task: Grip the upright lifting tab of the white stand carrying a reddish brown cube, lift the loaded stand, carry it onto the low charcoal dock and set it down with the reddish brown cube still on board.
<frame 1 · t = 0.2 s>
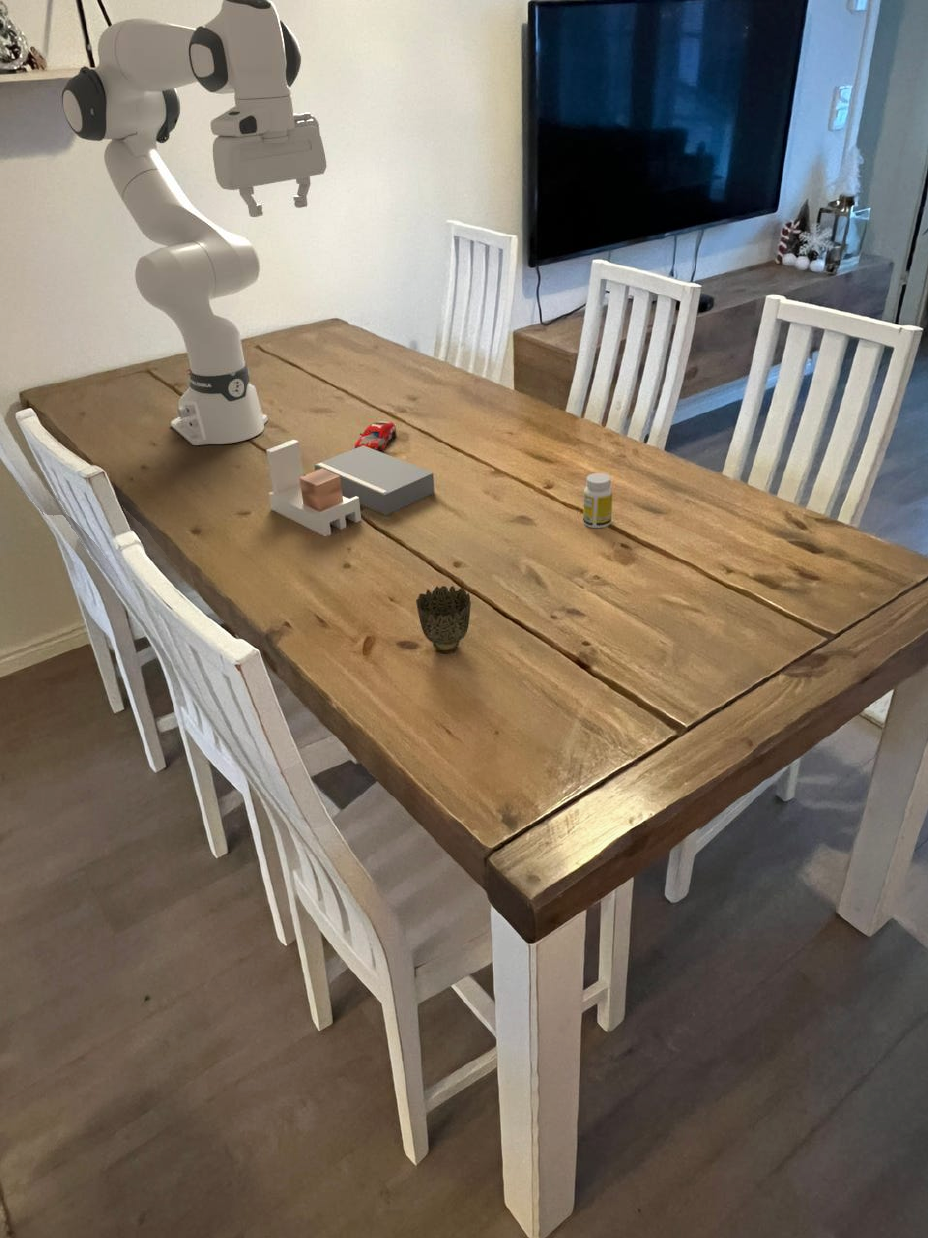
hand: (279, 211, 152), 47 cm above the table, tool pointing down, fingers open, 8 cm apart
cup: (446, 648, 127), on the table
white stand: (315, 515, 162), on the table, touching reddish brown cube
supplement bottle: (596, 523, 156), on the table
race car: (376, 446, 188), on the table
reddish brown cube: (323, 502, 159), point 3 cm above the table, touching white stand
dock: (375, 488, 170), on the table
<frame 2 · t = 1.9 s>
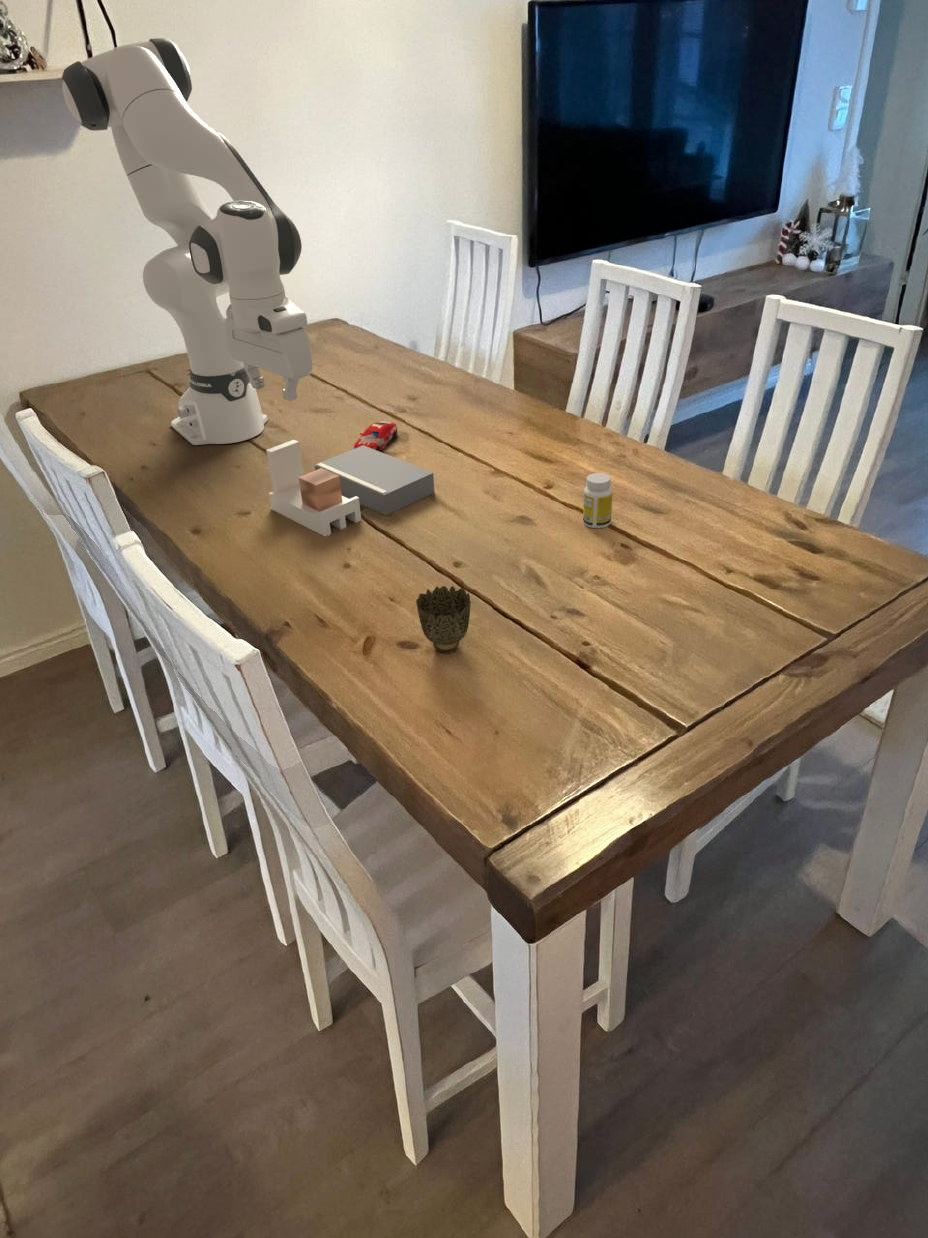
hand: (274, 393, 155), 21 cm above the table, tool pointing down, fingers open, 8 cm apart
nothing on the table moved.
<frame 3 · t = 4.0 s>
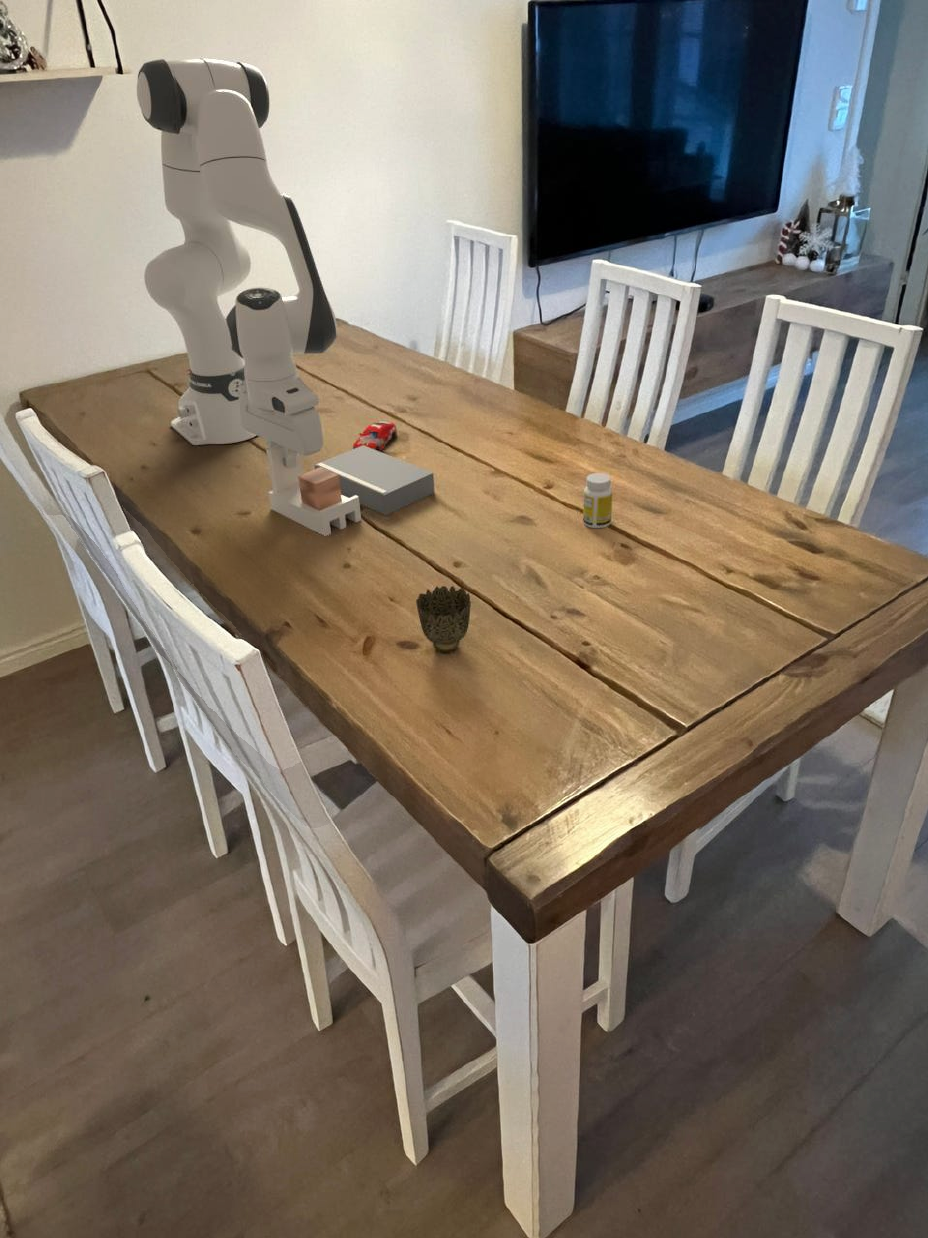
hand: (285, 464, 162), 8 cm above the table, tool pointing down, fingers closed on white stand, 2 cm apart
white stand: (315, 514, 162), on the table, touching reddish brown cube, gripper
everything else where it was.
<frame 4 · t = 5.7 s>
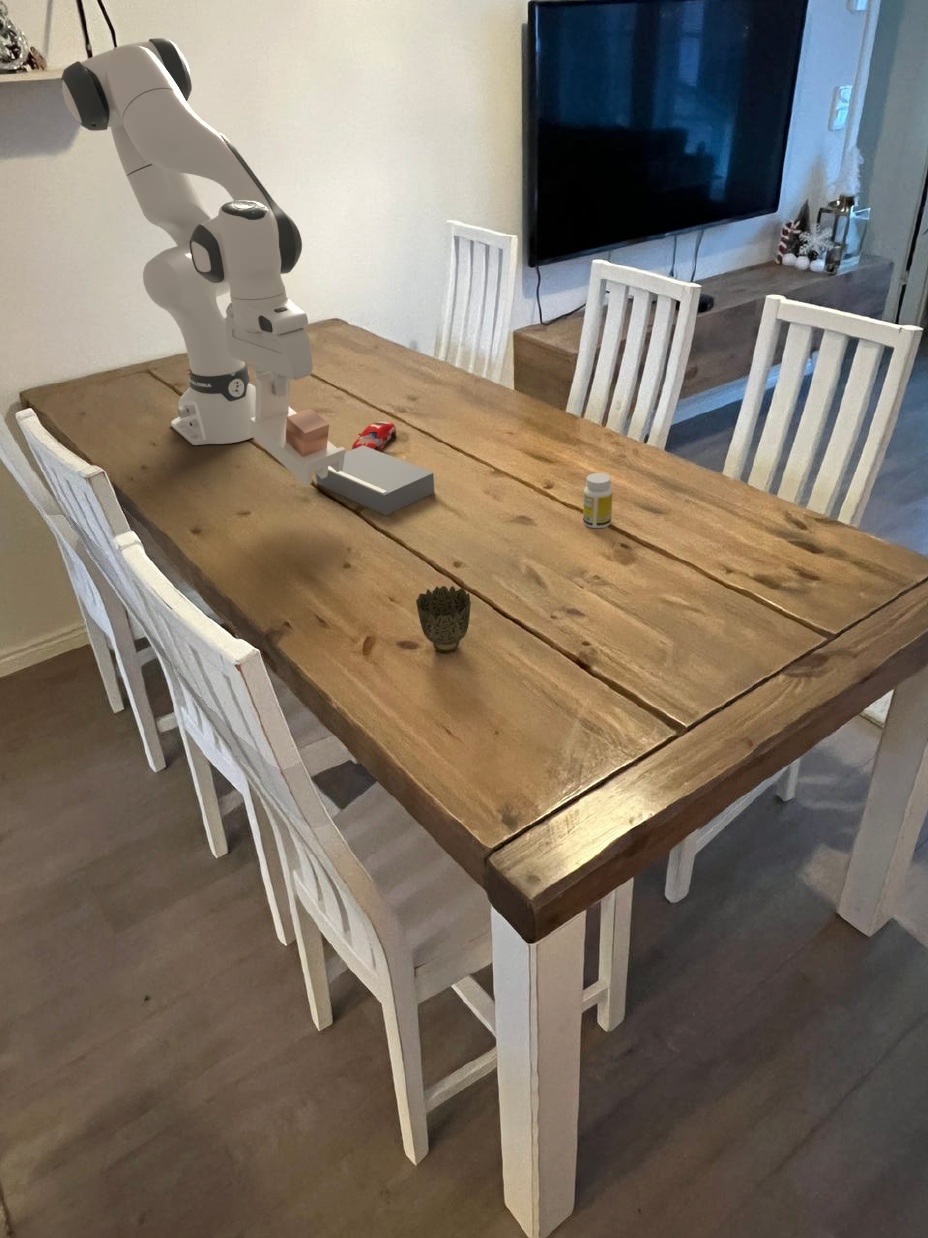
hand: (273, 392, 155), 21 cm above the table, tool pointing down, fingers closed on white stand, 2 cm apart
white stand: (296, 452, 158), point 11 cm above the table, tilted 19°, touching reddish brown cube, gripper
reddish brown cube: (306, 444, 155), point 13 cm above the table, tilted 19°, touching white stand
everything else where it was.
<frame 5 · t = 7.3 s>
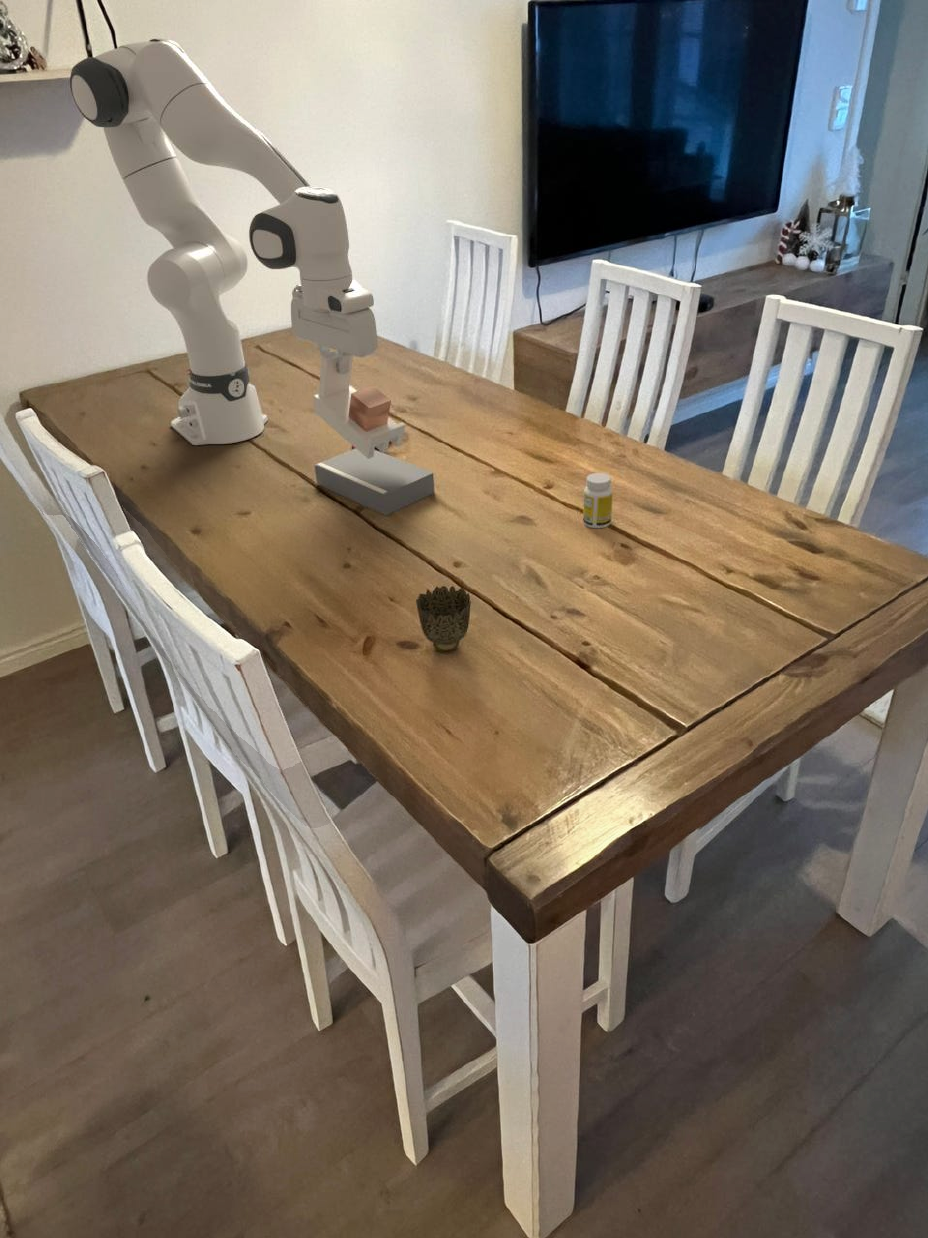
hand: (337, 370, 163), 21 cm above the table, tool pointing down, fingers closed on white stand, 2 cm apart
white stand: (357, 427, 166), point 11 cm above the table, tilted 19°, touching reddish brown cube, gripper
reddish brown cube: (367, 419, 163), point 14 cm above the table, tilted 19°, touching white stand
everything else where it was.
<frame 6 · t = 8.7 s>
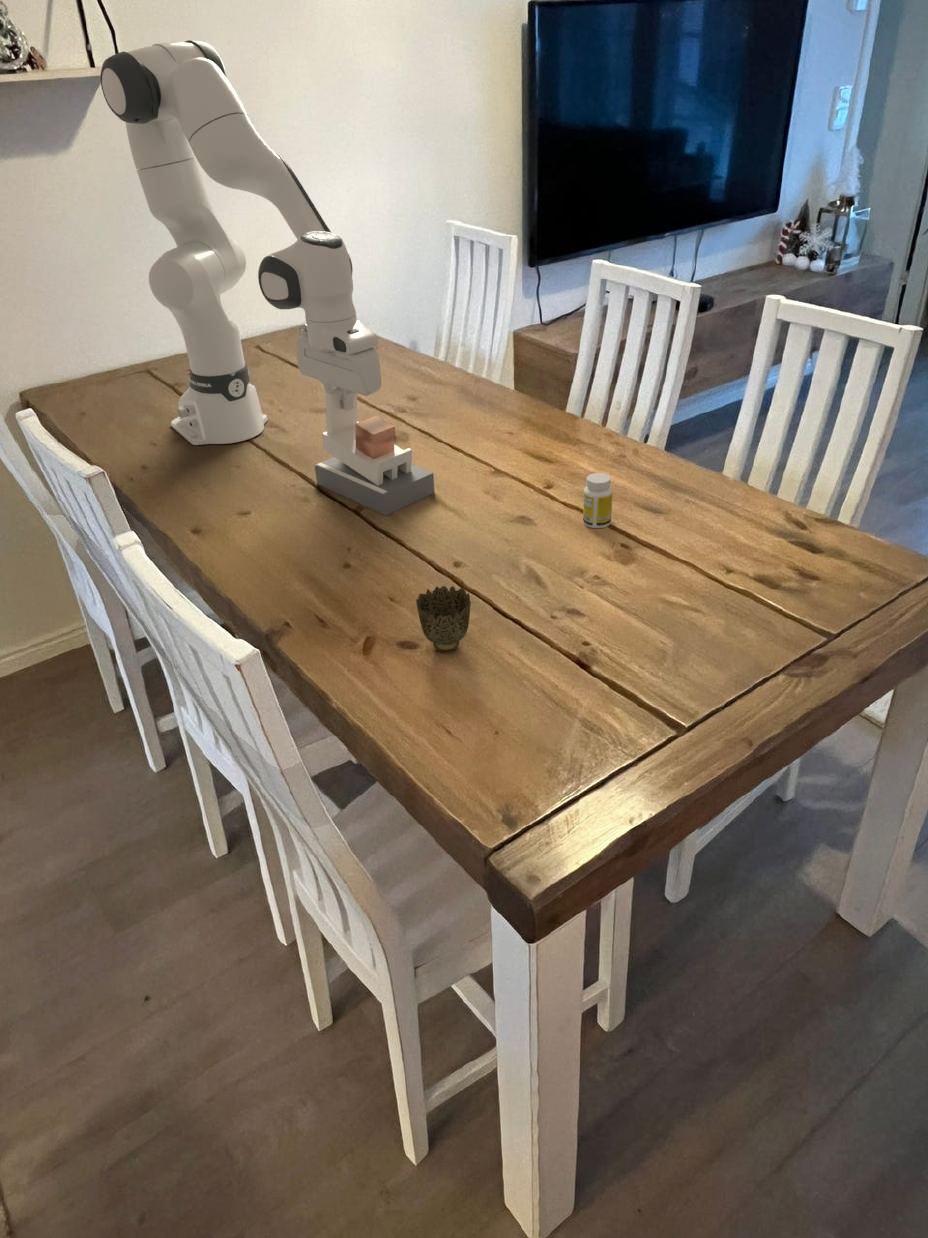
hand: (342, 407, 167), 14 cm above the table, tool pointing down, fingers closed on white stand, 2 cm apart
white stand: (366, 460, 168), point 5 cm above the table, tilted 9°, touching reddish brown cube, dock, gripper
reddish brown cube: (374, 449, 165), point 8 cm above the table, tilted 9°, touching white stand
everything else where it was.
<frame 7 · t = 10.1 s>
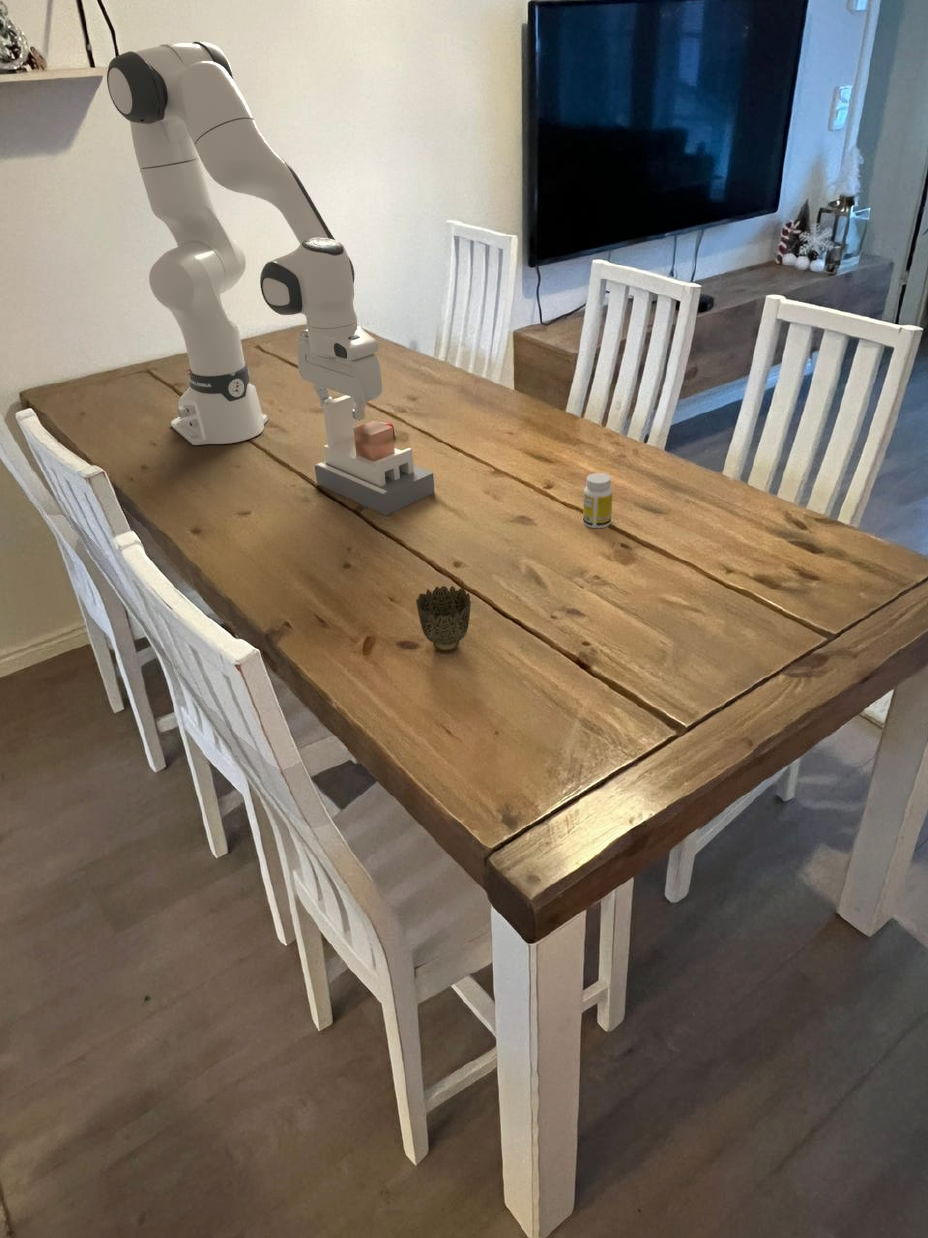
hand: (342, 412, 167), 13 cm above the table, tool pointing down, fingers open, 8 cm apart
white stand: (369, 467, 169), point 4 cm above the table, touching reddish brown cube, dock
reddish brown cube: (375, 453, 165), point 7 cm above the table, touching white stand
everything else where it was.
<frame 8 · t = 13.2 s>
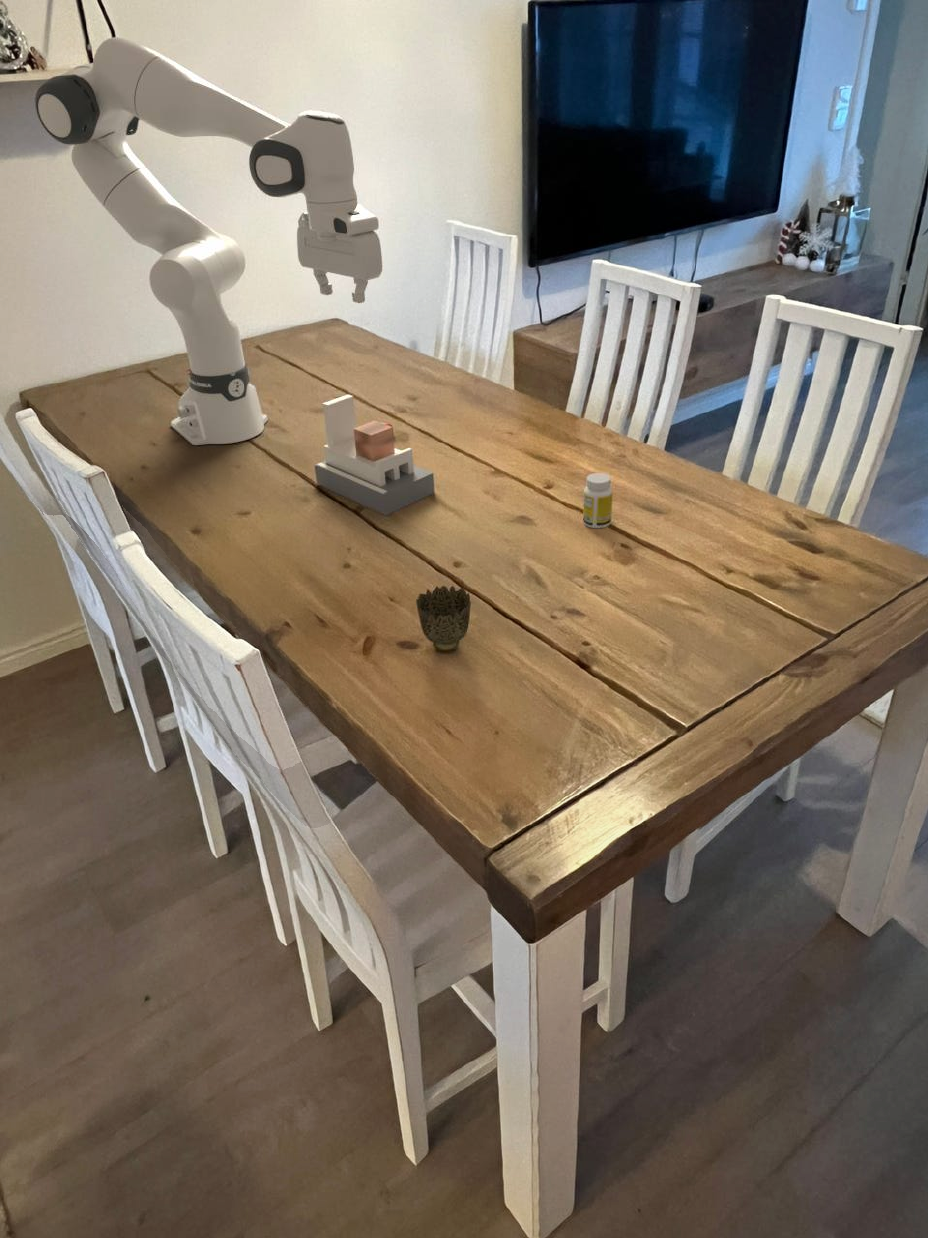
hand: (342, 298, 166), 31 cm above the table, tool pointing down, fingers open, 8 cm apart
nothing on the table moved.
at the end: white stand inside the target area (1.0 cm from its centre), point 4.0 cm above the table; reddish brown cube inside the target area on the white stand (0.4 cm from its centre), point 3.4 cm above the white stand's base; the gripper is holding nothing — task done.
